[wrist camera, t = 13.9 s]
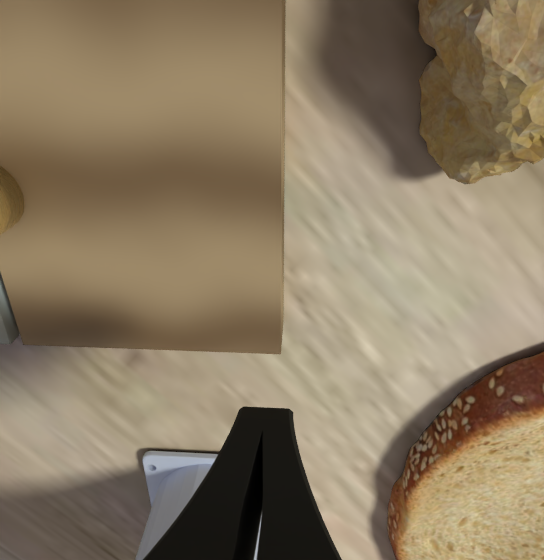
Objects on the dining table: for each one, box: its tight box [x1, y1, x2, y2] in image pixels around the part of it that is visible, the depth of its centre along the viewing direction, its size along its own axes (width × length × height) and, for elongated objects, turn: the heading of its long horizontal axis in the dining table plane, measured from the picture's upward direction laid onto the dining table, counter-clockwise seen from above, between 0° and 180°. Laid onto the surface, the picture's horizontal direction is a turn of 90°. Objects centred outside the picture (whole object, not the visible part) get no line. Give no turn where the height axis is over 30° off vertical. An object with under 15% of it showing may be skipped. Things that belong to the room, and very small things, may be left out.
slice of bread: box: [387, 352, 544, 560], centre depth 26 cm, size 18×18×4 cm
